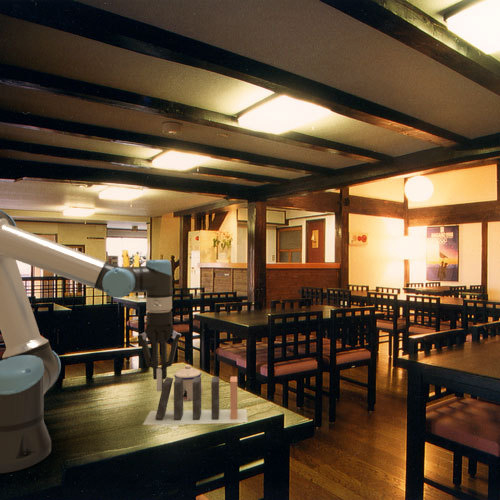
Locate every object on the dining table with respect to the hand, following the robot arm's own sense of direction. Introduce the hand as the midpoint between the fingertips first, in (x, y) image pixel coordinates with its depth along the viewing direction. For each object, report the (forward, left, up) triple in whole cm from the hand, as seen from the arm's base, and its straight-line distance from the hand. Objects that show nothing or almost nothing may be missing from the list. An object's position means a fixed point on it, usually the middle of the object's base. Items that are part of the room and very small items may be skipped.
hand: (160, 389), depth 116 cm
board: (+11, 0, -9) cm, 14 cm away
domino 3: (+11, 0, -8) cm, 14 cm away
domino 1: (0, 0, -8) cm, 8 cm away
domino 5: (+22, 0, -8) cm, 24 cm away
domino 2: (+5, 0, -8) cm, 10 cm away
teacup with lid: (+7, +16, -9) cm, 20 cm away
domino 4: (+16, 0, -8) cm, 18 cm away
